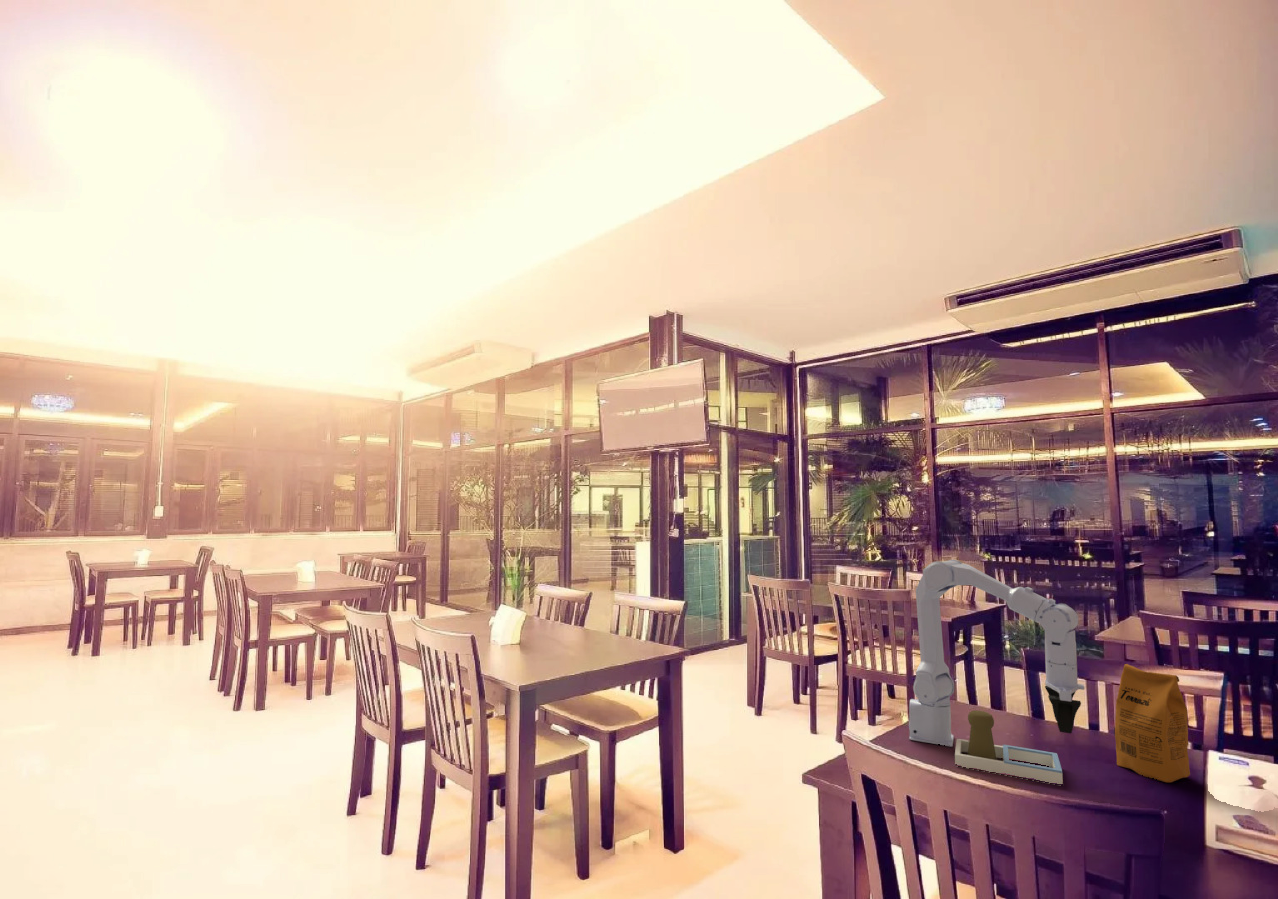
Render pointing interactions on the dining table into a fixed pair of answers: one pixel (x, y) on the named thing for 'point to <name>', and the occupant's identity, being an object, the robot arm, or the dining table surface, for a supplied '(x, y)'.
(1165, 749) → the coffee package
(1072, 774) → the dining table surface
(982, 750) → the olive tall tapered piece
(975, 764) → the tray
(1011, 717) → the dining table surface
